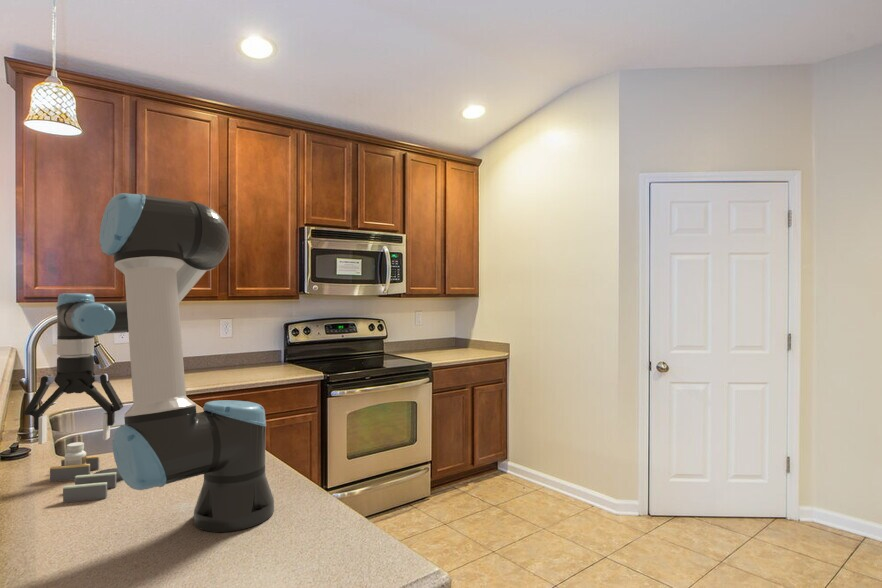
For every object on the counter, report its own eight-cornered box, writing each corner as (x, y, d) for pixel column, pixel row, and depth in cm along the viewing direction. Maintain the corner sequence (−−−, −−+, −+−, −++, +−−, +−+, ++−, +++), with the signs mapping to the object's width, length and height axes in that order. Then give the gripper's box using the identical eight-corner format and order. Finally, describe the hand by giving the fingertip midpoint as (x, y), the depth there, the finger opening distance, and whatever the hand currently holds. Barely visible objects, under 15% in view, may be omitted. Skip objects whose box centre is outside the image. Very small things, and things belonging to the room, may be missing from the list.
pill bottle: (88, 474, 127) (88, 443, 127) (66, 479, 124) (66, 447, 124) (83, 470, 130) (83, 440, 130) (62, 475, 127) (62, 444, 127)
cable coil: (121, 483, 121) (121, 476, 121) (87, 486, 119) (87, 479, 119) (129, 473, 128) (129, 466, 128) (97, 476, 126) (97, 469, 126)
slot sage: (105, 498, 112) (105, 483, 112) (63, 502, 110) (63, 487, 110) (116, 486, 119) (116, 472, 119) (76, 489, 117) (76, 475, 117)
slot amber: (88, 478, 124) (88, 465, 124) (49, 481, 122) (49, 468, 122) (99, 468, 131) (99, 455, 131) (62, 471, 129) (62, 458, 129)
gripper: (136, 352, 134) (136, 433, 134) (23, 354, 127) (22, 439, 127) (128, 356, 127) (127, 441, 127) (7, 358, 119) (6, 449, 120)
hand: (75, 440), depth 127 cm, fingers open, 13 cm apart
